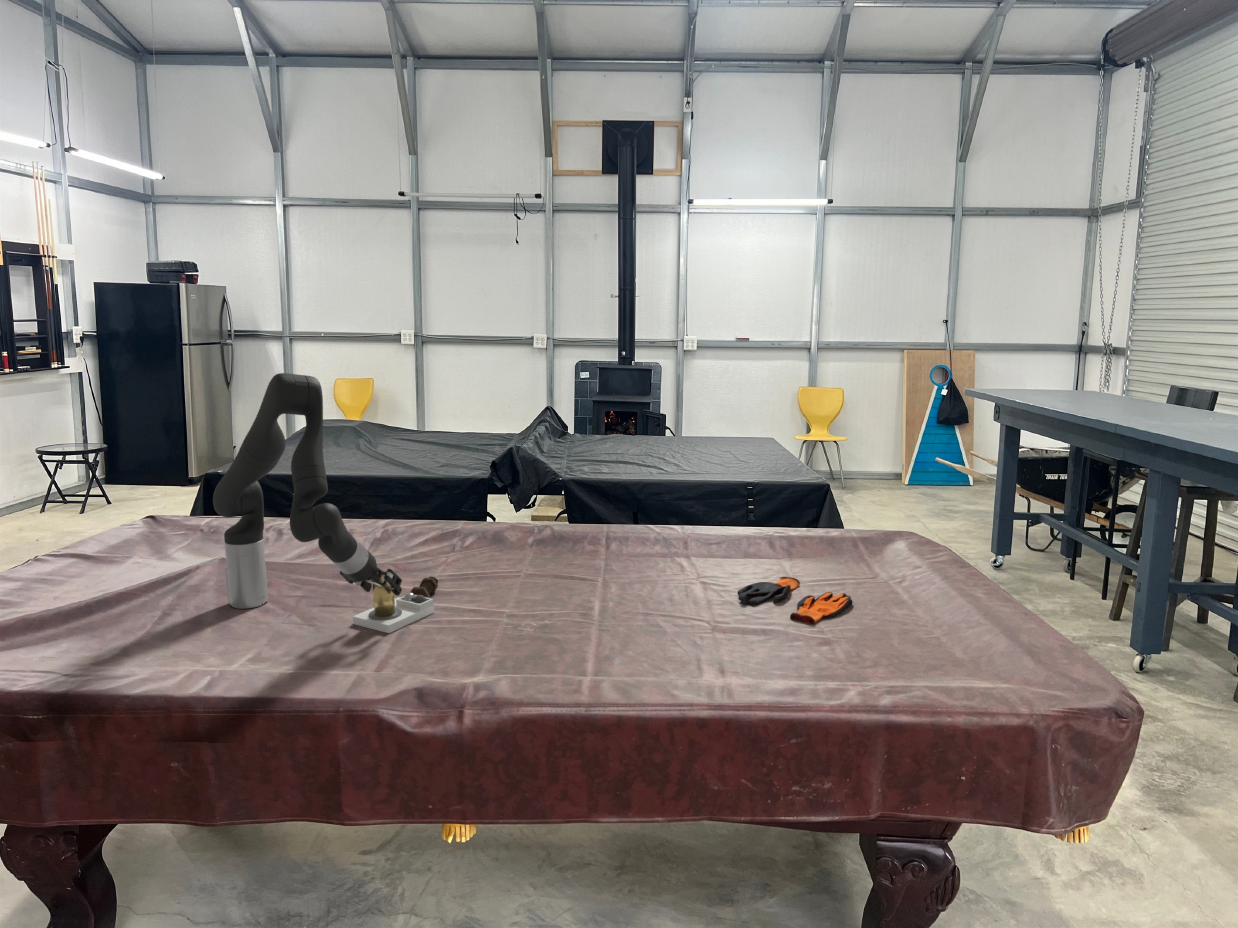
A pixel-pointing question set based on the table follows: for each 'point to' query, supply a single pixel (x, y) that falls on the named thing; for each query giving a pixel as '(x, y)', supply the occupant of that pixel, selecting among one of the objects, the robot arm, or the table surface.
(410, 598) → the steel ball
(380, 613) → the ball
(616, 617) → the table surface
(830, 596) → the pair of gloves
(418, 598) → the rubber ball
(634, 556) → the table surface
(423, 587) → the bolt
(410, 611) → the plate
